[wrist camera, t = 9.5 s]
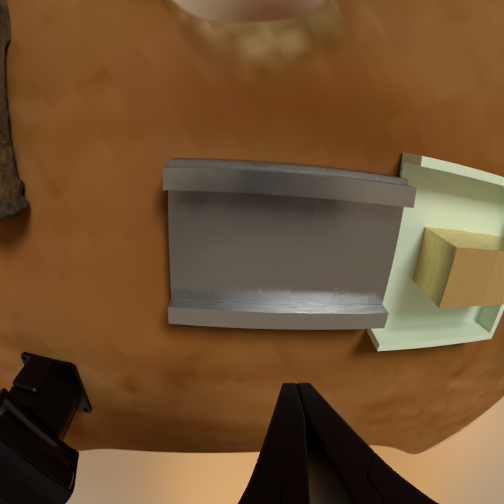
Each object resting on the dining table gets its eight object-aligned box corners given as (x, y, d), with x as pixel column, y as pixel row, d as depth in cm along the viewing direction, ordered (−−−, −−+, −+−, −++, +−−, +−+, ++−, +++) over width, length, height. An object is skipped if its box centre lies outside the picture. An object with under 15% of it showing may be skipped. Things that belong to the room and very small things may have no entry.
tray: (477, 323, 23) (491, 338, 21) (366, 331, 22) (377, 351, 20) (516, 181, 18) (536, 188, 16) (402, 152, 18) (422, 155, 15)
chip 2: (485, 280, 21) (513, 303, 17) (452, 280, 21) (480, 306, 17) (498, 235, 19) (529, 253, 16) (465, 231, 19) (498, 251, 16)
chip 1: (452, 280, 21) (481, 305, 17) (412, 279, 21) (439, 308, 17) (465, 231, 19) (498, 250, 16) (424, 226, 19) (456, 247, 15)
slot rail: (371, 313, 22) (383, 332, 20) (176, 307, 21) (169, 327, 19) (399, 176, 18) (417, 182, 16) (173, 157, 18) (163, 161, 15)
